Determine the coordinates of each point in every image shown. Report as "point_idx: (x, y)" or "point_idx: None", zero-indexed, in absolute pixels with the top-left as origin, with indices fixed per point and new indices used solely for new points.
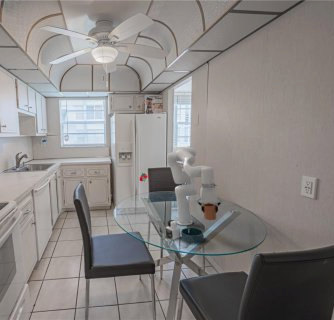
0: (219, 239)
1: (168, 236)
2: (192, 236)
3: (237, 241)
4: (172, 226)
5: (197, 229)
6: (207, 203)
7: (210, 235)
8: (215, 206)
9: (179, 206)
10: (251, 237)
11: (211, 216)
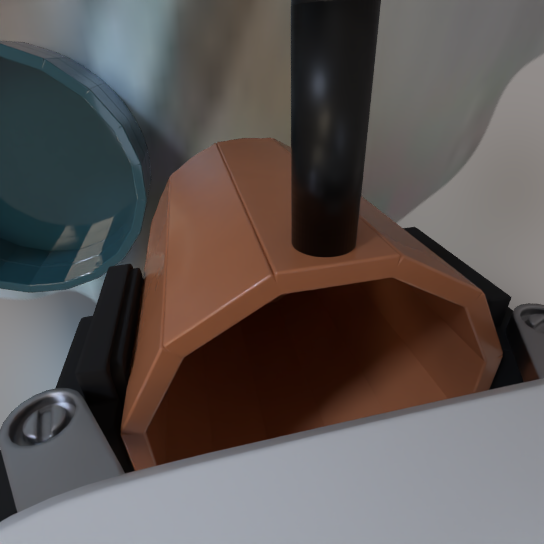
0: (279, 110)
1: None
2: (59, 288)
3: (403, 121)
4: None
5: (52, 75)
6: (281, 285)
7: (201, 18)
8: (454, 396)
9: None
10: (535, 9)
11: (279, 337)
